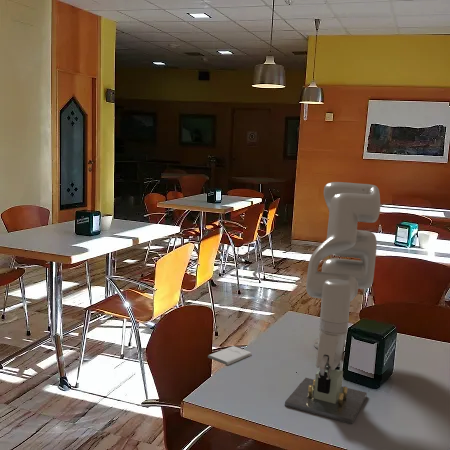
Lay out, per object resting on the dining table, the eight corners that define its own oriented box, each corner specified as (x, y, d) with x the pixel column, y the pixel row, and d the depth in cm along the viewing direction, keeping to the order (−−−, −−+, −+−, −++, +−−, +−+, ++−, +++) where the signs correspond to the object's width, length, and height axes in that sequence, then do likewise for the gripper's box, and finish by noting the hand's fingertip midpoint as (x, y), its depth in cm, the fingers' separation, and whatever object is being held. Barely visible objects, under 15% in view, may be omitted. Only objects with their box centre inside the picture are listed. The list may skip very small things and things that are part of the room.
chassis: (305, 381, 160) (306, 368, 159) (366, 396, 152) (367, 382, 151) (284, 405, 144) (285, 390, 143) (351, 424, 136) (353, 408, 135)
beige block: (319, 389, 152) (321, 366, 151) (340, 395, 149) (343, 371, 148) (313, 398, 147) (315, 373, 146) (335, 403, 144) (337, 379, 143)
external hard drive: (207, 359, 174) (232, 349, 183) (227, 367, 168) (251, 356, 178) (208, 354, 173) (232, 345, 183) (227, 362, 168) (251, 352, 178)
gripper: (328, 314, 154) (323, 371, 157) (310, 331, 139) (305, 394, 141) (354, 319, 151) (349, 377, 153) (339, 337, 136) (333, 401, 138)
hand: (328, 385), depth 147 cm, fingers open, 9 cm apart
